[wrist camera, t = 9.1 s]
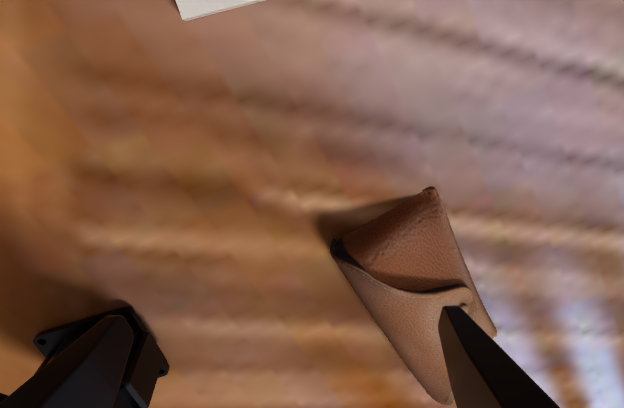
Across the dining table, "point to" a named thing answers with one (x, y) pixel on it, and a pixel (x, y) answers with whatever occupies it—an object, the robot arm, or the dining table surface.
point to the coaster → (208, 7)
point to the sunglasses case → (412, 283)
